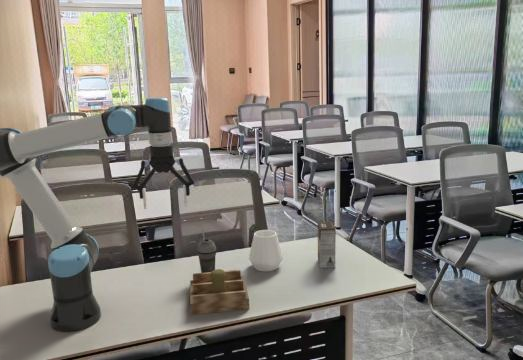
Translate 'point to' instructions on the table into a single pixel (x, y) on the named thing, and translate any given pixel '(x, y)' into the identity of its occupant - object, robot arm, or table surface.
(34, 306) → the table surface
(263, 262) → the cup
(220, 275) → the olive green pawn
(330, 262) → the coffee box
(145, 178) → the robot arm
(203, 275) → the rack
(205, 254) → the beverage cup
